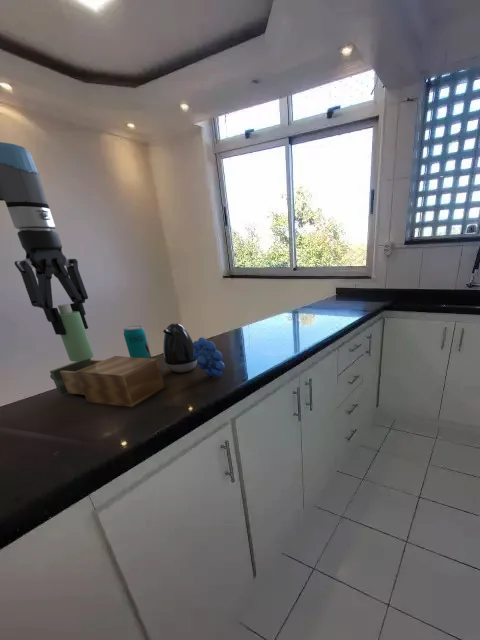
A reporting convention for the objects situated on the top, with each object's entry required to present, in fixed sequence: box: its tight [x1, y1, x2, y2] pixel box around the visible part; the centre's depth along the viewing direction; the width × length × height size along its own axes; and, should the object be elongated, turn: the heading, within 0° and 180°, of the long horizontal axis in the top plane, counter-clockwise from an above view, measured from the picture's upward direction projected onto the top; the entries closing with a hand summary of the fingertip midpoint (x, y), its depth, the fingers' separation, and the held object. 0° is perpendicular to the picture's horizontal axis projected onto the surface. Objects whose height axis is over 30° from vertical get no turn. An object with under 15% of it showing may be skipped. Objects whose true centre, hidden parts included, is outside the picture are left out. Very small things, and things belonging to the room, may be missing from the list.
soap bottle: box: [57, 303, 95, 362], centre depth 81 cm, size 6×6×14 cm
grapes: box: [193, 337, 226, 378], centre depth 92 cm, size 12×7×12 cm, turn 61°
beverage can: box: [123, 325, 153, 359], centre depth 96 cm, size 6×6×15 cm
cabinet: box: [76, 355, 165, 408], centre depth 83 cm, size 15×13×9 cm
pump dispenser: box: [162, 322, 198, 374], centre depth 98 cm, size 10×10×15 cm
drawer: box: [49, 358, 103, 396], centre depth 87 cm, size 18×11×7 cm, turn 73°
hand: (72, 331), depth 81 cm, fingers closed on soap bottle, 6 cm apart
